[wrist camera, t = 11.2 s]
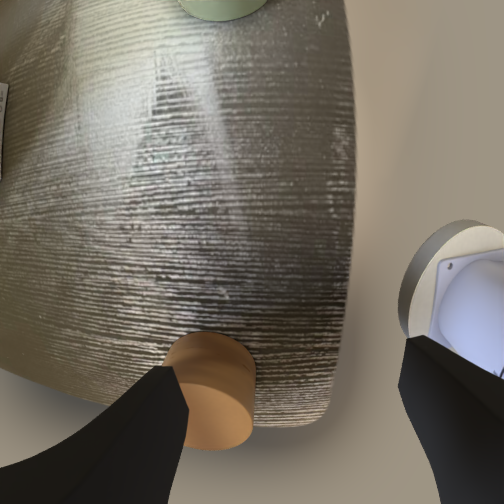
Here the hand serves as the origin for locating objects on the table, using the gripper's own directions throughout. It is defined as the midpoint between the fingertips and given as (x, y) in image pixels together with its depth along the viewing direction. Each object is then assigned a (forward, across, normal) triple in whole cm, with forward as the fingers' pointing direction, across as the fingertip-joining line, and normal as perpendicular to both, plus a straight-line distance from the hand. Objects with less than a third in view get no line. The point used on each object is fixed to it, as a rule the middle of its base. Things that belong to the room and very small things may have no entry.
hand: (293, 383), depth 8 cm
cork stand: (+10, +6, +8) cm, 14 cm away
